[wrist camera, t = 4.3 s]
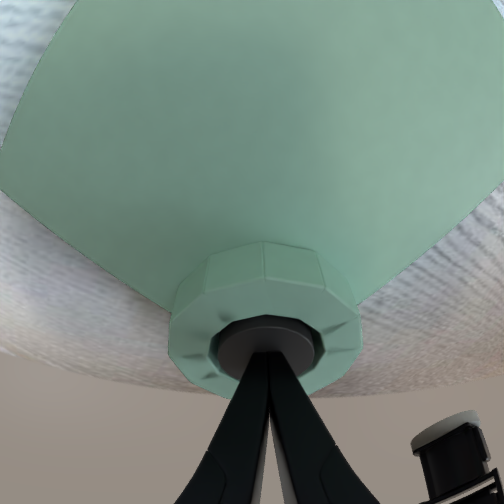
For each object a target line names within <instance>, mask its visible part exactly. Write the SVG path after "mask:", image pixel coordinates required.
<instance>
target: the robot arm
mask: <svg viewBox="0 0 504 504" xmlns="http://www.w3.org/2000/svg"><path fill="white" fill-rule="evenodd" d="M269 414H270V423H271V430H272V436H273V442H274V448H275V453H276V458H277V464H278V470H279V476H280V481H281V486H282V492H283V498H284V503H285V504H380V503H379V501H378V500H377V499H376V498H375V497H374V496H373V495H372V494H371V492H370V491H369V490H368V489H367V487H366V486H365V485H364V484H363V483H362V481H361V480H360V479H359V477H358V476H357V475H356V474H355V472H354V471H353V470H352V468H351V467H350V465H349V464H348V462H347V461H346V459H345V457H344V456H343V454H342V453H341V451H340V449H339V448H338V446H337V445H335V444H336V443H335V441H334V440H333V438H332V436H331V435H330V433H329V431H328V429H327V428H326V426H325V424H324V423H323V421H322V419H321V418H320V416H319V414H318V413H317V411H316V409H315V407H314V406H313V404H312V402H311V401H310V399H309V397H308V395H307V394H306V392H305V390H304V388H303V387H302V385H301V383H300V382H299V380H298V378H297V376H296V375H295V373H294V371H293V369H292V368H291V366H290V364H289V362H288V361H287V359H286V357H285V355H284V354H283V353H282V352H281V351H272V352H268V355H267V353H266V352H254V353H253V354H252V355H251V358H250V360H249V362H248V364H247V366H246V369H245V371H244V373H243V375H242V377H241V379H240V382H239V384H238V386H237V388H236V390H235V392H234V395H233V397H232V399H231V401H230V403H229V405H228V407H227V409H226V411H225V414H224V416H223V418H222V420H221V422H220V424H219V426H218V428H217V430H216V432H215V434H214V437H213V438H212V441H211V443H210V445H209V447H208V451H206V452H205V454H204V456H203V458H202V460H201V462H200V464H199V466H198V468H197V470H196V472H195V473H194V475H193V477H192V479H191V480H190V481H189V483H188V485H187V486H186V487H185V489H184V490H183V492H182V493H181V495H180V496H179V498H178V499H177V500H176V502H175V503H174V504H260V497H261V489H262V480H263V472H264V464H265V455H266V447H267V438H268V428H269ZM413 455H416V456H420V460H421V464H422V468H423V472H424V476H425V481H426V485H427V489H428V494H429V498H430V500H429V501H426V502H422V503H419V504H441V503H443V502H445V501H448V500H450V499H452V498H455V497H457V496H459V495H461V494H464V493H466V492H468V491H470V490H472V489H474V488H476V487H478V486H480V485H482V484H484V483H486V482H488V481H489V480H491V479H493V478H494V479H495V482H494V483H492V484H490V485H488V486H486V487H484V488H482V489H480V490H478V491H476V492H474V493H472V494H470V495H468V496H466V497H463V498H461V499H459V500H457V501H454V502H452V503H450V504H504V489H503V485H502V482H501V478H500V475H499V472H498V469H497V468H495V469H493V470H492V471H491V472H490V471H489V468H488V465H487V462H488V461H490V459H491V457H490V453H489V450H488V447H487V444H486V441H485V438H484V436H483V433H482V430H481V429H480V428H479V427H476V426H473V425H472V424H470V423H469V422H466V423H464V424H462V425H461V426H459V427H457V428H455V429H454V430H452V431H450V432H448V433H447V434H445V435H443V436H441V437H439V438H437V439H435V440H433V441H432V442H430V443H428V444H426V445H424V446H422V447H420V448H417V449H415V450H414V451H413ZM495 490H497V491H498V492H497V493H492V492H493V491H495Z"/></svg>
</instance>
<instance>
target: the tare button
mask: <svg viewBox="0 0 504 504" xmlns="http://www.w3.org/2000/svg"><path fill="white" fill-rule="evenodd" d="M272 351H281V352H282V353H283V354H284V355H285V357H286V359H287V361H288V362H289V364H290V366H291V368H292V369H293V371H294V373H295V375H296V376H299V375H300V374H302V373H303V372H304V371H305V370H306V369H307V368H308V367H309V366H310V365H311V363H312V361H313V358H314V352H315V351H314V346H313V340H312V334H311V329H310V326H309V325H307V324H306V323H304V322H303V321H301V320H300V319H297V318H290V317H283V316H275V315H268V314H264V315H260V316H255V317H251V318H246V319H241V320H237V321H232V322H231V323H230V324H228V325H227V326H226V327H225V328H223V329H222V330H221V331H220V335H219V346H218V361H219V364H220V365H221V367H222V368H223V370H224V371H225V372H226V373H228V374H229V375H230V376H232V377H234V378H236V379H238V380H240V379H241V377H242V375H243V373H244V371H245V369H246V366H247V364H248V362H249V360H250V358H251V355H252V354H253V353H254V352H266V353H267V355H268V352H272Z"/></svg>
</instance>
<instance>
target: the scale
mask: <svg viewBox="0 0 504 504" xmlns="http://www.w3.org/2000/svg"><path fill="white" fill-rule="evenodd" d="M503 181H504V19H503V17H502V15H501V14H500V12H499V11H498V9H497V7H496V6H495V4H494V3H493V1H492V0H77V2H76V3H75V5H74V6H73V8H72V9H71V10H70V12H69V13H68V15H67V16H66V18H65V19H64V21H63V22H62V24H61V25H60V27H59V29H58V30H57V32H56V33H55V35H54V37H53V38H52V40H51V42H50V43H49V45H48V47H47V48H46V50H45V52H44V54H43V56H42V57H41V59H40V61H39V63H38V65H37V67H36V69H35V70H34V72H33V74H32V76H31V78H30V80H29V82H28V84H27V87H26V89H25V91H24V93H23V95H22V97H21V99H20V102H19V104H18V106H17V109H16V111H15V113H14V116H13V118H12V121H11V123H10V126H9V128H8V131H7V134H6V136H5V139H4V142H3V145H2V148H1V150H0V190H1V191H2V192H4V193H5V194H6V195H7V196H8V197H9V198H11V199H12V200H13V201H14V202H15V203H17V204H18V205H19V206H20V207H22V208H23V209H24V210H25V211H26V212H28V213H29V214H30V215H31V216H33V217H34V218H35V219H36V220H38V221H39V222H40V223H42V224H43V225H44V226H45V227H47V228H48V229H49V230H51V231H52V232H53V233H55V234H56V235H57V236H58V237H60V238H61V239H62V240H64V241H65V242H66V243H68V244H69V245H71V246H72V247H73V248H75V249H76V250H77V251H79V252H80V253H82V254H83V255H84V256H86V257H87V258H89V259H90V260H91V261H93V262H94V263H96V264H97V265H98V266H100V267H101V268H103V269H104V270H106V271H107V272H109V273H110V274H111V275H113V276H114V277H116V278H117V279H119V280H120V281H122V282H123V283H125V284H126V285H128V286H129V287H131V288H132V289H134V290H135V291H137V292H139V293H140V294H142V295H143V296H145V297H146V298H148V299H149V300H151V301H153V302H154V303H156V304H157V305H159V306H161V307H162V308H164V309H165V310H167V311H169V312H170V313H172V314H171V318H170V322H169V338H168V355H169V357H170V358H171V360H172V361H173V362H174V363H175V365H176V366H177V367H178V368H179V370H180V371H181V372H182V373H183V374H184V376H185V377H186V378H187V379H188V380H189V381H190V382H191V383H193V384H195V385H197V386H199V387H201V388H203V389H205V390H208V391H210V392H212V393H214V394H217V395H219V396H221V397H223V398H227V399H232V397H233V395H234V392H235V390H236V388H237V386H238V384H239V382H240V380H238V379H236V378H234V377H232V376H230V375H229V374H228V373H226V372H225V371H224V370H223V368H222V367H221V365H220V364H219V361H218V346H219V335H220V331H221V330H222V329H223V328H225V327H226V326H227V325H228V324H230V323H231V322H232V321H237V320H241V319H246V318H251V317H255V316H260V315H264V314H268V315H275V316H283V317H290V318H297V319H300V320H301V321H303V322H304V323H306V324H307V325H309V326H310V329H311V334H312V340H313V346H314V351H315V352H314V358H313V361H312V363H311V365H310V366H309V367H308V368H307V369H306V370H305V371H304V372H303V373H302V374H300V375H299V376H297V378H298V380H299V382H300V383H301V385H302V387H303V388H304V390H305V392H306V394H307V395H310V394H312V393H314V392H316V391H317V390H319V389H321V388H323V387H325V386H327V385H328V384H330V383H332V382H334V381H336V380H337V379H339V378H341V377H342V376H344V374H345V373H346V372H347V370H348V369H349V368H350V366H351V365H352V363H353V362H354V361H355V359H356V358H357V356H358V355H359V354H360V352H361V351H362V349H363V337H362V327H361V317H360V313H359V310H358V307H357V305H358V304H360V303H361V302H363V301H364V300H365V299H367V298H368V297H369V296H371V295H372V294H373V293H375V292H376V291H377V290H379V289H380V288H381V287H383V286H384V285H385V284H386V283H388V282H389V281H390V280H392V279H393V278H394V277H395V276H397V275H398V274H399V273H401V272H402V271H403V270H404V269H406V268H407V267H408V266H409V265H410V264H412V263H413V262H414V261H415V260H417V259H418V258H419V257H420V256H421V255H423V254H424V253H425V252H426V251H427V250H429V249H430V248H431V247H432V246H433V245H435V244H436V243H437V242H438V241H439V240H440V239H442V238H443V237H444V236H445V235H446V234H447V233H448V232H450V231H451V230H452V229H453V228H454V227H455V226H456V225H457V224H459V223H460V222H461V221H462V220H463V219H464V218H465V217H466V216H467V215H468V214H469V213H471V212H472V211H473V210H474V209H475V208H476V207H477V206H478V205H479V204H480V203H481V202H482V201H483V200H484V199H485V198H486V197H487V196H488V195H489V194H490V193H492V192H493V191H494V190H495V189H496V188H497V187H498V186H499V185H500V184H501V183H502V182H503Z"/></svg>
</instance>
